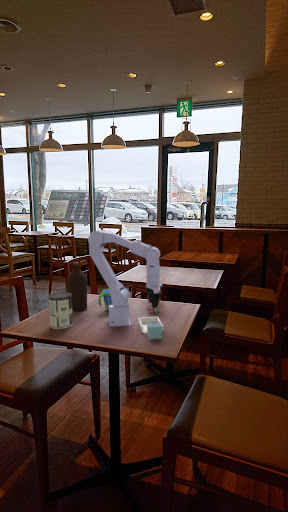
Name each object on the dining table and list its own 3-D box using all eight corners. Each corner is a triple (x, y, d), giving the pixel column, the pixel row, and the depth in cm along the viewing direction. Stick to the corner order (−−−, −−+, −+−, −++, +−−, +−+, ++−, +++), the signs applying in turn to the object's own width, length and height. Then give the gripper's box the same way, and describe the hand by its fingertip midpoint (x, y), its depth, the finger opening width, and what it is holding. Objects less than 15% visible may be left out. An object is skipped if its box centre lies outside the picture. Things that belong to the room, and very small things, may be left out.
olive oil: (92, 309, 165) (90, 262, 161) (74, 313, 158) (72, 264, 154) (81, 304, 173) (79, 260, 169) (64, 309, 166) (61, 262, 162)
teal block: (149, 339, 123) (149, 327, 123) (147, 334, 128) (147, 323, 128) (161, 338, 124) (161, 326, 123) (159, 333, 129) (159, 322, 128)
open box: (141, 334, 130) (141, 327, 130) (138, 324, 142) (138, 317, 141) (163, 332, 131) (163, 325, 131) (157, 322, 143) (157, 316, 143)
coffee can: (62, 319, 149) (61, 290, 147) (77, 323, 143) (76, 293, 141) (44, 326, 141) (43, 295, 139) (60, 331, 135) (58, 299, 133)
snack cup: (102, 314, 155) (102, 294, 154) (95, 309, 165) (94, 290, 163) (130, 309, 163) (130, 290, 162) (121, 304, 172) (121, 286, 171)
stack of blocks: (148, 301, 178) (148, 280, 177) (159, 301, 178) (159, 279, 177) (147, 313, 157) (147, 289, 156) (160, 313, 157) (160, 289, 155)
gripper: (165, 278, 130) (165, 309, 132) (158, 271, 144) (159, 300, 146) (148, 278, 129) (149, 310, 131) (143, 272, 143) (144, 300, 145)
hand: (153, 305), depth 138 cm, fingers open, 7 cm apart
